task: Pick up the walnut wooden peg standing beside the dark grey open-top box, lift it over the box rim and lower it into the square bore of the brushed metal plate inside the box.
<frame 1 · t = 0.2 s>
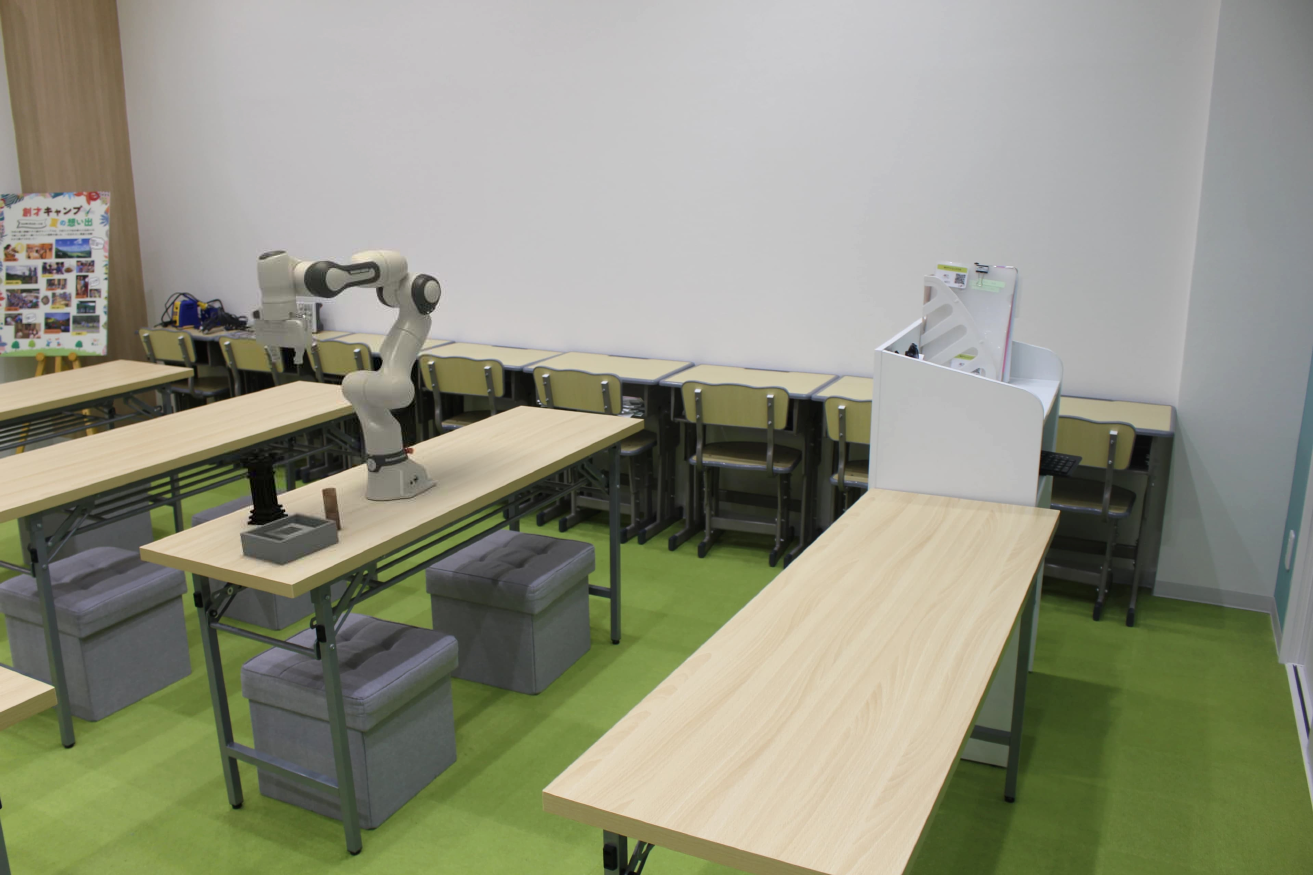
hand: (287, 362, 258), 47 cm above the table, tool pointing down, fingers open, 8 cm apart
open box: (291, 548, 251), on the table
bore plate: (290, 537, 250), in the open box, point 3 cm above the table
chess piece: (268, 521, 274), on the table
peg: (334, 530, 264), on the table
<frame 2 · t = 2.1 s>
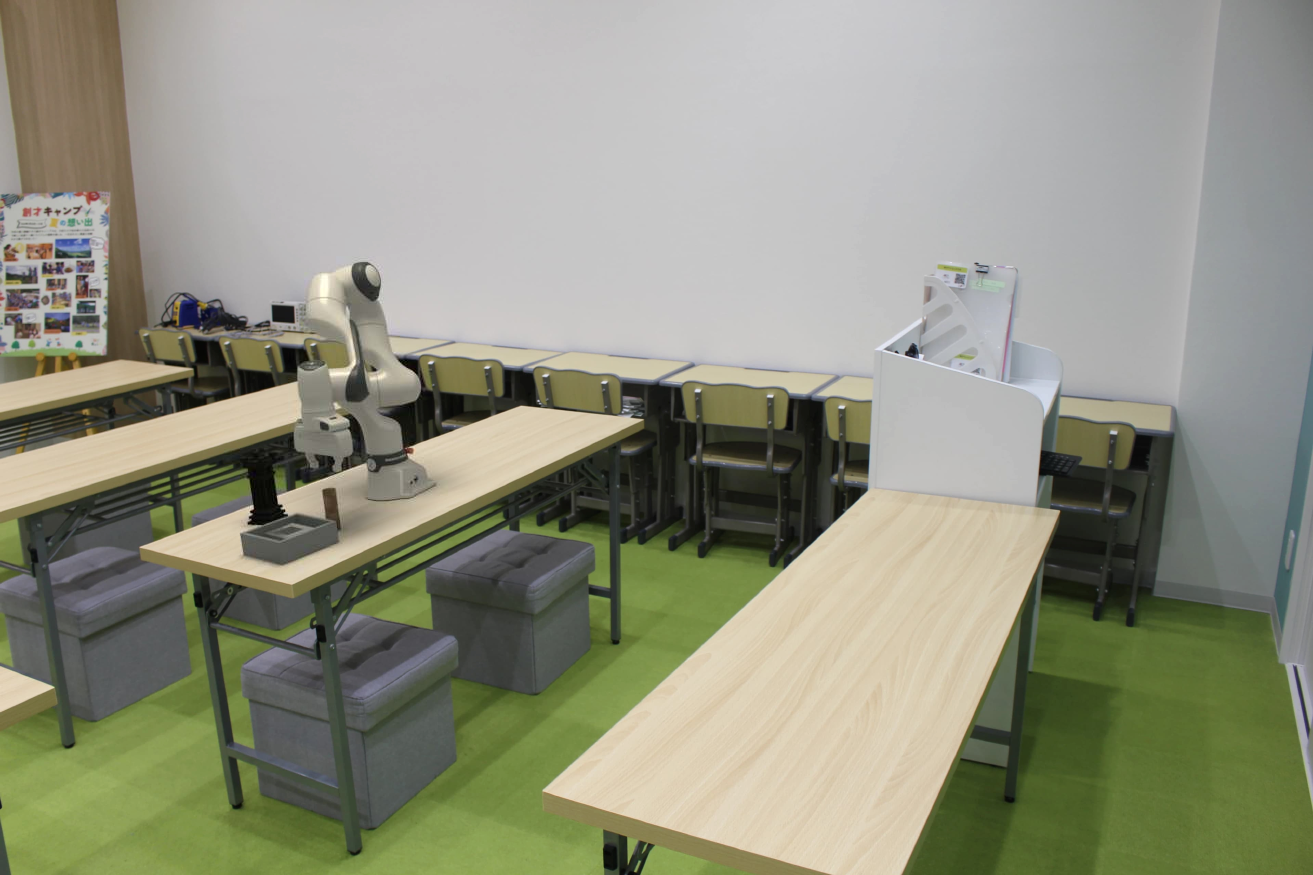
hand: (325, 469, 259), 18 cm above the table, tool pointing down, fingers open, 8 cm apart
nothing on the table moved.
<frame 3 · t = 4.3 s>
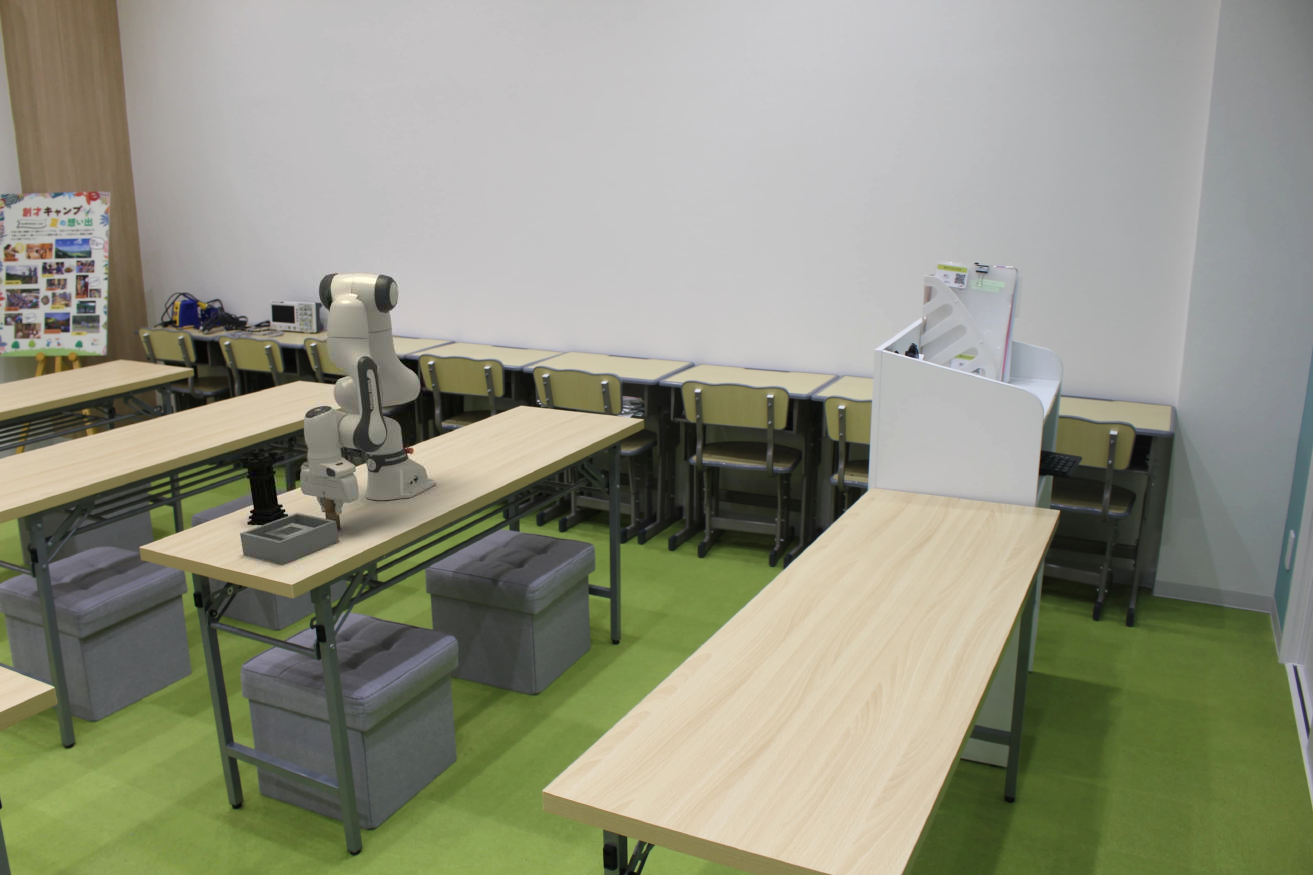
hand: (332, 512, 263), 5 cm above the table, tool pointing down, fingers closed on peg, 4 cm apart
peg: (334, 530, 264), on the table, touching gripper
everything else where it was.
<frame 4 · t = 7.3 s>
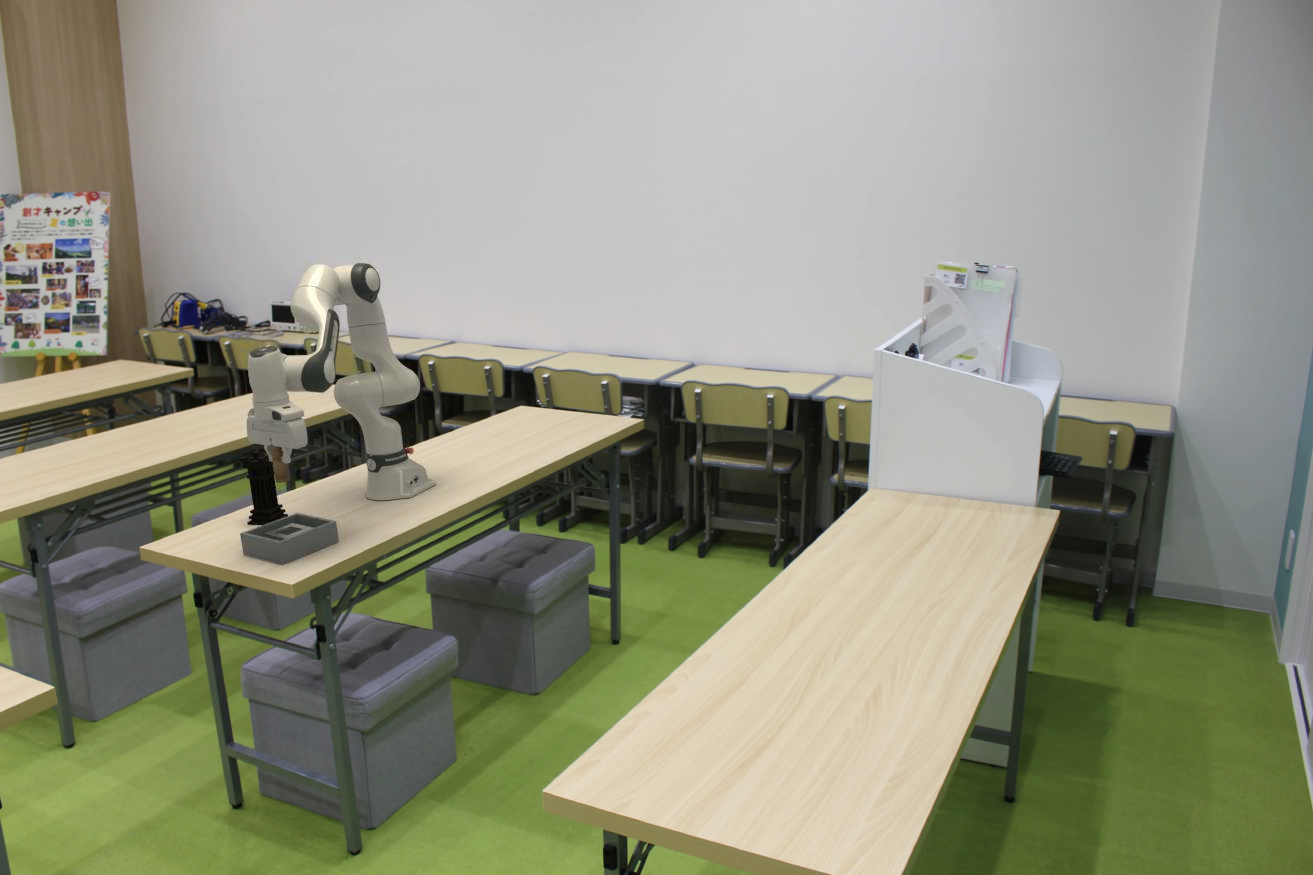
hand: (280, 462, 246), 24 cm above the table, tool pointing down, fingers closed on peg, 4 cm apart
peg: (283, 480, 247), point 19 cm above the table, touching gripper
everything else where it was.
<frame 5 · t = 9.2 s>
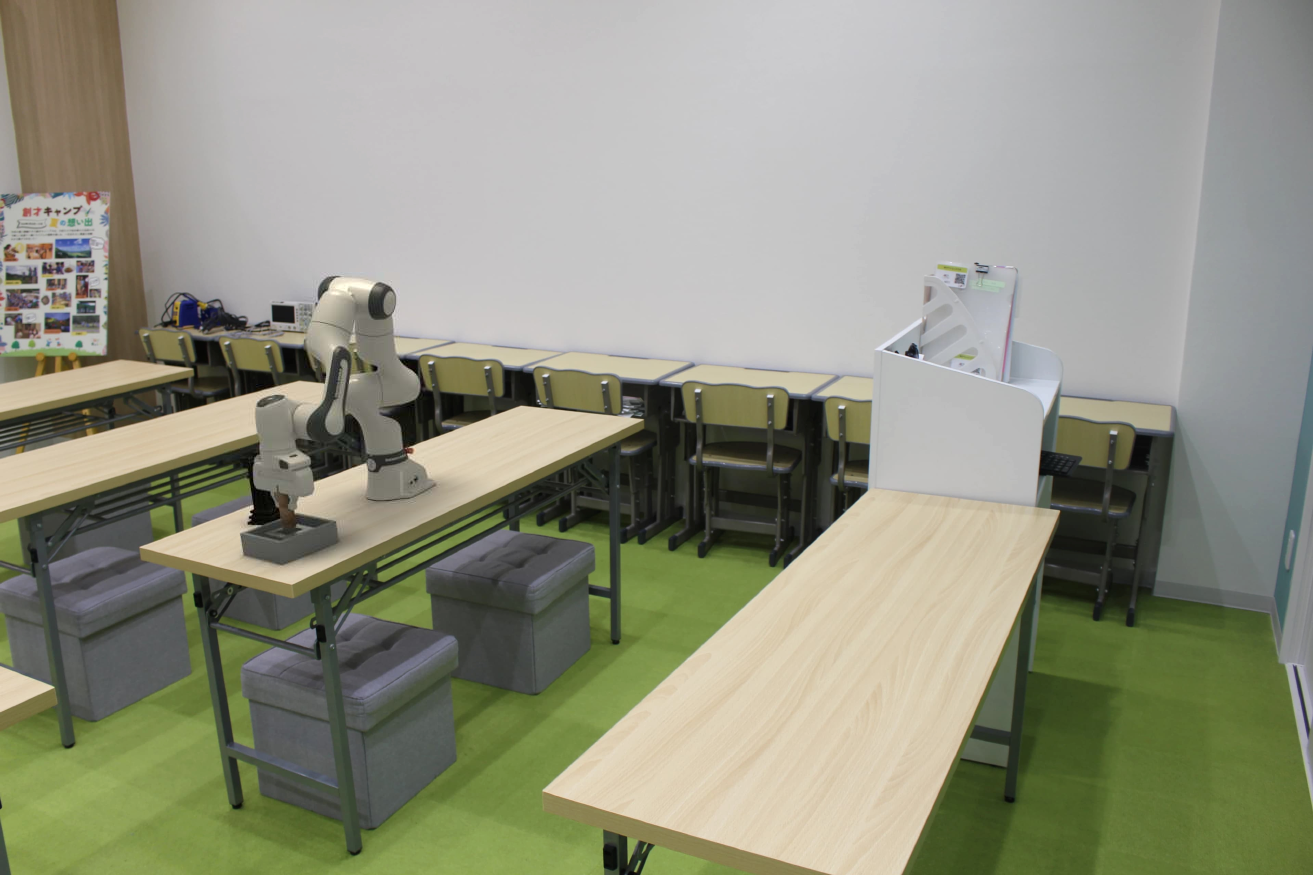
hand: (286, 508, 248), 11 cm above the table, tool pointing down, fingers closed on peg, 4 cm apart
peg: (289, 526, 249), point 6 cm above the table, touching gripper
everything else where it was.
when the fingers open (8 cm above the table, at t = 10.5 s): peg drops 2 cm, resting on open box.
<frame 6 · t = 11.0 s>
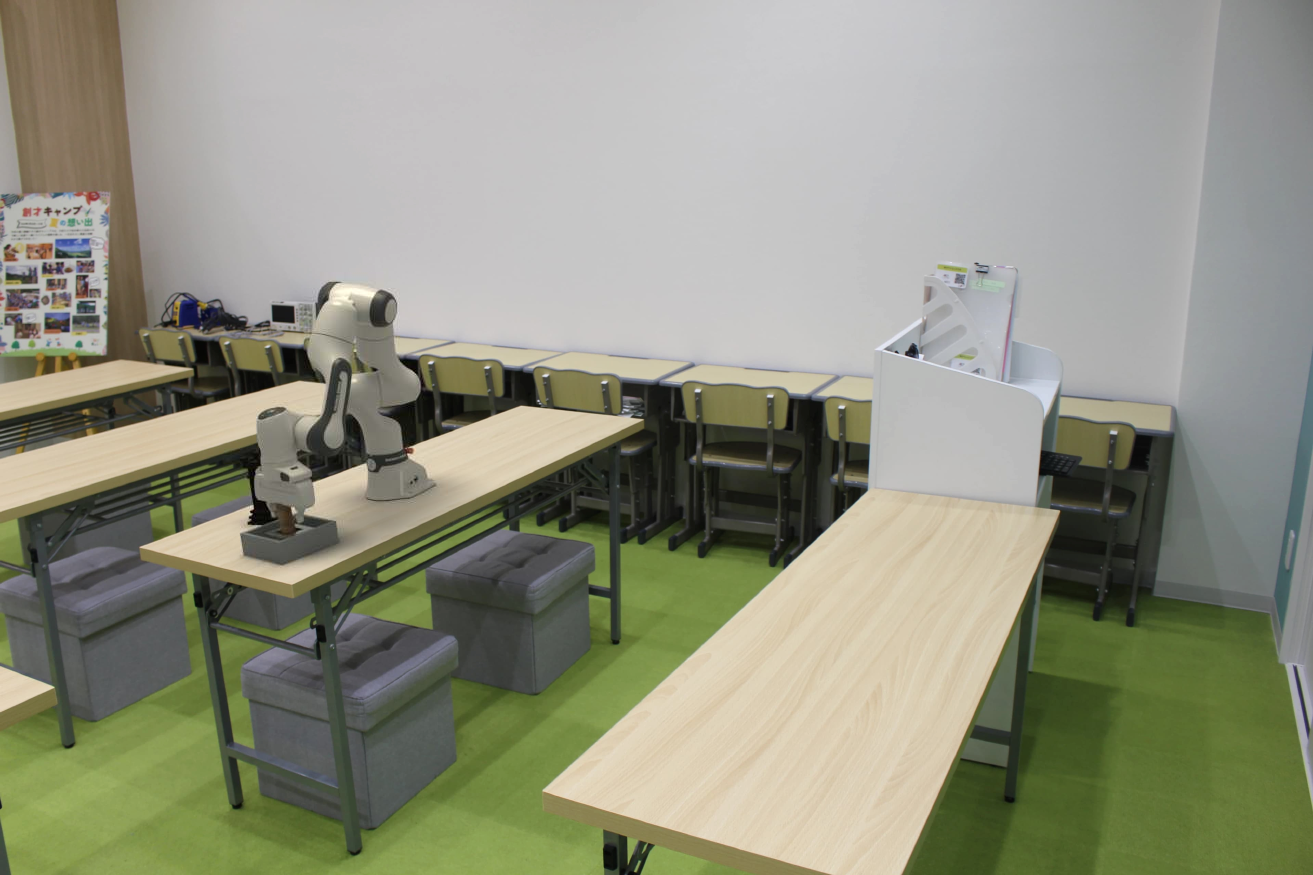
hand: (287, 519, 249), 8 cm above the table, tool pointing down, fingers open, 8 cm apart
peg: (291, 544, 251), point 1 cm above the table, touching open box
everything else where it was.
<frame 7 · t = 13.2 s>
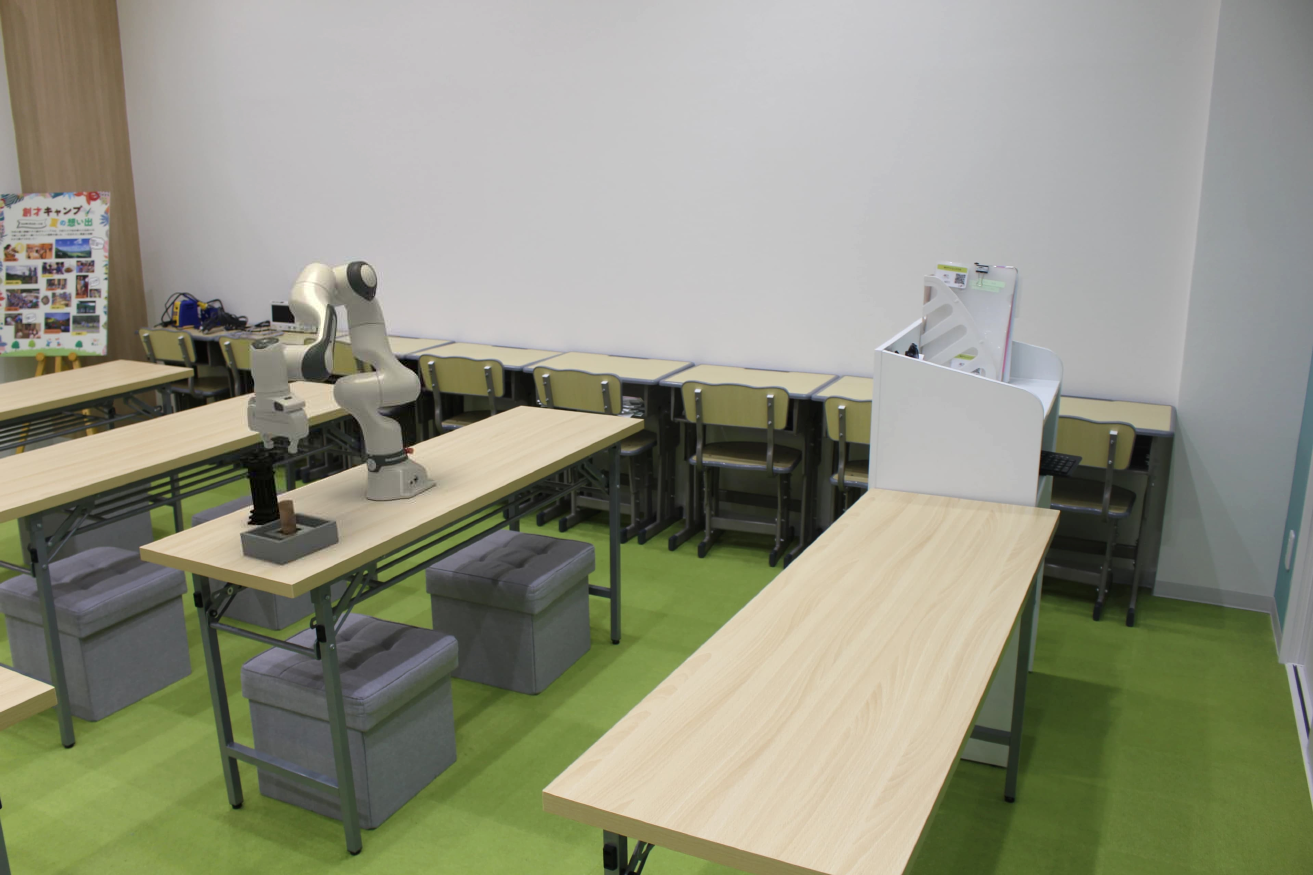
hand: (281, 450, 251), 26 cm above the table, tool pointing down, fingers open, 8 cm apart
nothing on the table moved.
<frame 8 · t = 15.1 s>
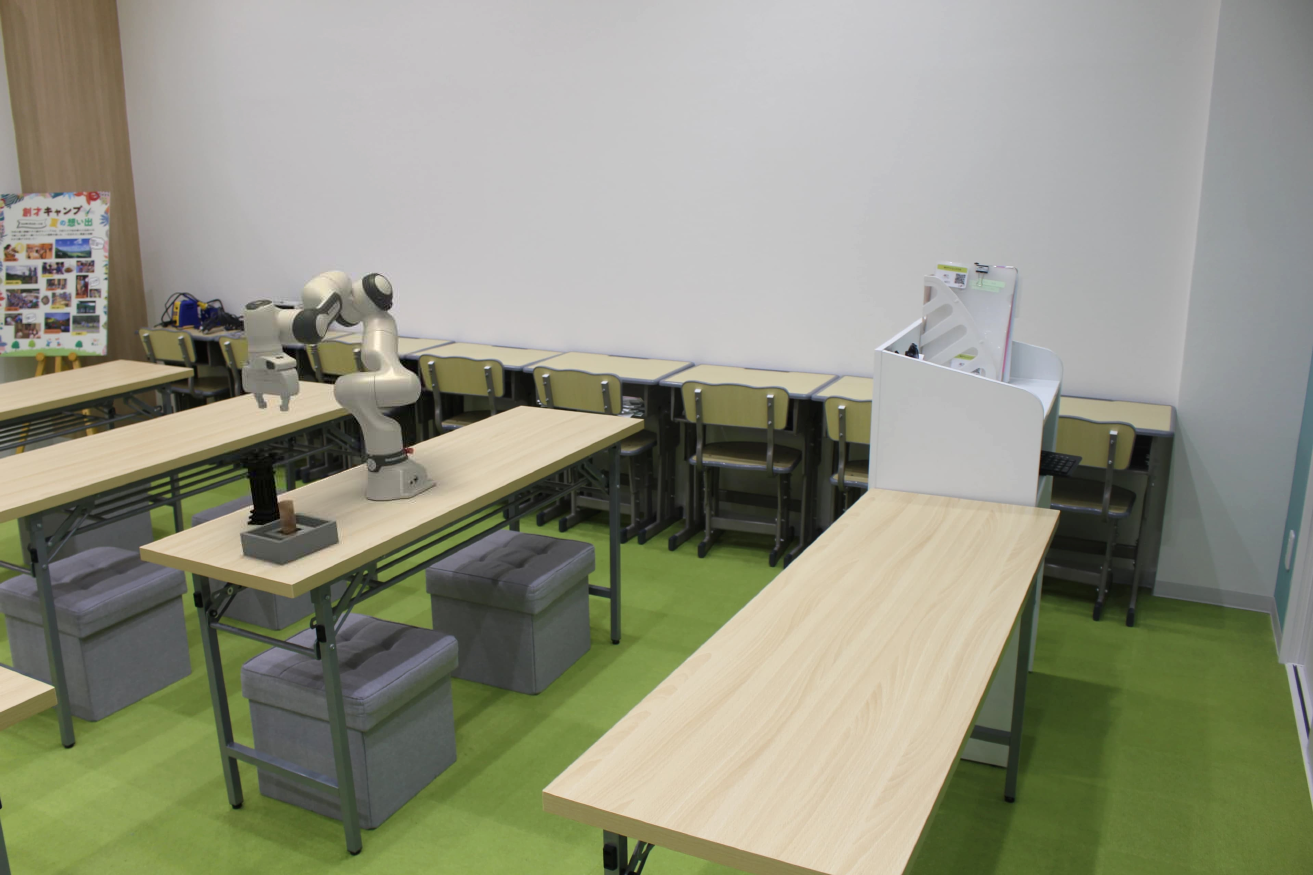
hand: (273, 409, 261), 34 cm above the table, tool pointing down, fingers open, 8 cm apart
nothing on the table moved.
at the end: peg 0.1 cm off-centre on the bore plate, point 1.0 cm above the bore plate's base; peg tilted 0°; the gripper is holding nothing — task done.
